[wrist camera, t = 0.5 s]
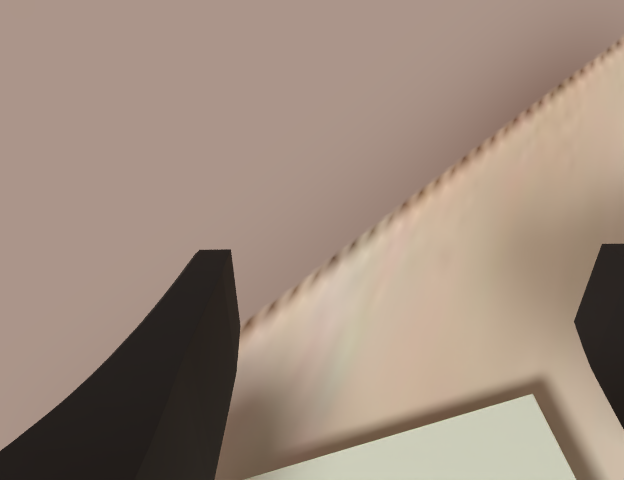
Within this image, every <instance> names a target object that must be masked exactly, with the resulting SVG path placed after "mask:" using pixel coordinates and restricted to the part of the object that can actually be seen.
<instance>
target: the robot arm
mask: <svg viewBox="0 0 624 480" xmlns="http://www.w3.org/2000/svg"><path fill="white" fill-rule="evenodd" d="M574 323H575V326H576V329H577V332H578V335H579V337H580V340H581V343H582V346H583V349H584V351H585V354H586V357H587V359H588V362H589V364H590V367H591V369H592V371H593V373H594V375H595V377H596V379H597V381H598V382H599V384H600V386H601V388H602V390H603V392H604V394H605V396H606V397H607V399H608V401H609V403H610V405H611V407H612V409H613V411H614V412H615V414H616V416H617V418H618V420H619V422H620V423H621V425H622V427H623V429H624V244H602V246H601V248H600V251H599V254H598V257H597V259H596V262H595V265H594V268H593V270H592V273H591V276H590V279H589V282H588V284H587V287H586V290H585V293H584V295H583V298H582V301H581V304H580V306H579V309H578V312H577V315H576V317H575V320H574ZM239 336H240V320H239V312H238V304H237V296H236V288H235V279H234V272H233V264H232V255H231V250H199V251H198V252H197V253H196V254H195V255H194V256H193V258H192V259H191V260H190V262H189V263H188V264H187V266H186V267H185V268H184V270H183V271H182V272H181V274H180V275H179V276H178V278H177V279H176V280H175V282H174V283H173V284H172V286H171V287H170V288H169V289H168V291H167V292H166V293H165V294H164V296H163V297H162V298H161V299H160V301H159V302H158V303H157V304H156V305H155V307H154V308H153V309H152V310H151V312H150V313H149V314H148V315H147V316H146V317H145V319H144V320H143V321H142V322H141V323H140V324H139V326H138V327H137V328H136V329H135V330H134V331H133V332H132V333H131V334H130V335H129V337H128V338H127V339H126V340H125V341H124V342H123V343H122V344H121V345H120V346H119V347H118V348H117V349H116V350H115V352H114V353H113V354H112V355H111V356H110V357H109V358H108V359H107V360H106V361H105V362H104V363H103V364H102V365H101V366H100V367H99V368H98V369H97V370H96V371H95V372H94V373H93V374H92V375H91V376H90V377H89V378H88V379H87V380H86V381H84V382H83V383H82V384H81V385H80V386H79V387H78V388H77V389H76V390H75V391H74V392H73V393H71V394H70V395H69V396H68V397H67V398H66V399H65V400H63V401H62V402H61V403H60V404H59V405H58V406H56V407H55V408H54V409H53V410H52V411H51V412H49V413H48V414H47V415H46V416H44V417H43V418H42V419H41V420H39V421H38V422H37V423H36V424H34V425H33V426H32V427H30V428H29V429H28V430H27V431H25V432H24V433H23V434H22V435H20V436H19V437H18V438H17V439H15V440H14V441H13V442H12V443H10V444H9V445H8V446H6V447H5V448H4V449H2V450H1V451H0V480H214V479H215V473H216V469H217V464H218V459H219V454H220V449H221V445H222V440H223V435H224V430H225V425H226V421H227V416H228V411H229V406H230V401H231V396H232V391H233V387H234V382H235V377H236V371H237V360H238V349H239Z"/></svg>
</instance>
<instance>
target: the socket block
mask: <svg viewBox="0 0 624 480" xmlns="http://www.w3.org/2000/svg"><path fill="white" fill-rule="evenodd" d="M244 480H576V478H575V476H574V474H573V472H572V470H571V468H570V466H569V464H568V462H567V461H566V459H565V457H564V455H563V453H562V451H561V449H560V447H559V445H558V443H557V441H556V439H555V437H554V435H553V433H552V431H551V429H550V427H549V425H548V423H547V421H546V419H545V417H544V415H543V413H542V411H541V409H540V407H539V405H538V403H537V401H536V399H535V397H534V395H533V394H530V395H526V396H523V397H520V398H516V399H513V400H510V401H506V402H503V403H499V404H496V405H493V406H489V407H486V408H483V409H479V410H476V411H473V412H469V413H466V414H462V415H459V416H456V417H452V418H449V419H446V420H442V421H439V422H435V423H432V424H429V425H425V426H422V427H419V428H415V429H412V430H409V431H405V432H402V433H398V434H395V435H392V436H388V437H385V438H382V439H378V440H375V441H372V442H368V443H365V444H361V445H358V446H355V447H351V448H348V449H345V450H341V451H338V452H334V453H331V454H328V455H324V456H321V457H318V458H314V459H311V460H308V461H304V462H301V463H297V464H294V465H291V466H287V467H284V468H281V469H277V470H274V471H270V472H267V473H264V474H260V475H257V476H254V477H250V478H247V479H244Z"/></svg>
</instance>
